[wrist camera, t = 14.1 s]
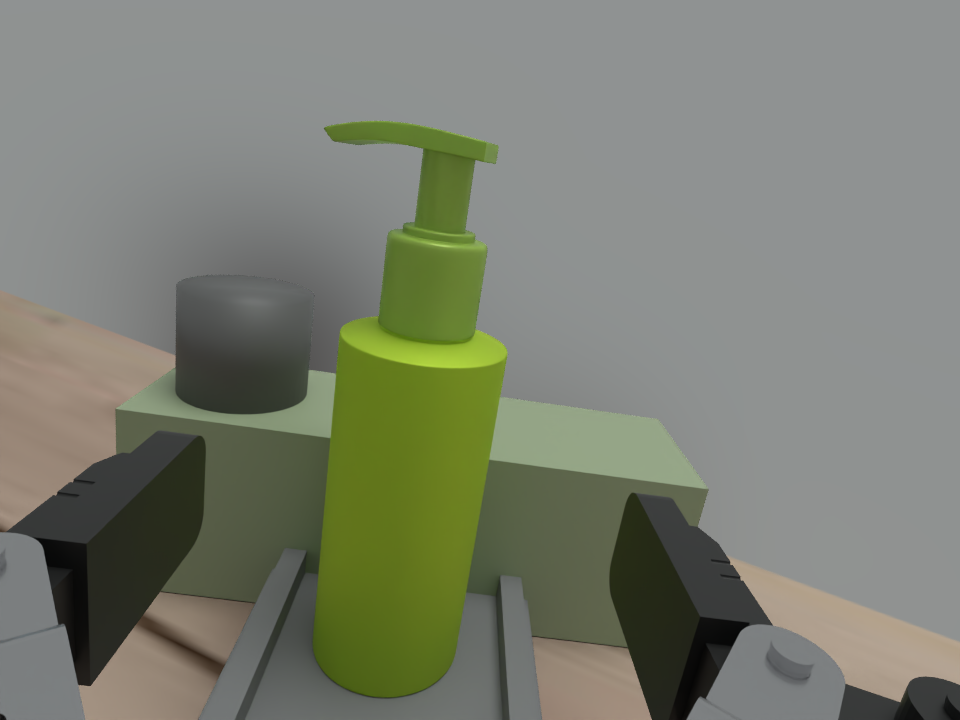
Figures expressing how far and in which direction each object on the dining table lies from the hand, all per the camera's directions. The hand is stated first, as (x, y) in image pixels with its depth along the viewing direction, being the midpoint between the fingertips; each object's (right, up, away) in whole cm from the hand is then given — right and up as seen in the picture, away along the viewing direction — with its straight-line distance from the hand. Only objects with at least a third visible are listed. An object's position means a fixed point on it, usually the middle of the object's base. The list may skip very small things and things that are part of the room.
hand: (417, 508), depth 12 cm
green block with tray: (-3, -10, +17) cm, 20 cm away
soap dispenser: (-3, -9, +14) cm, 17 cm away
